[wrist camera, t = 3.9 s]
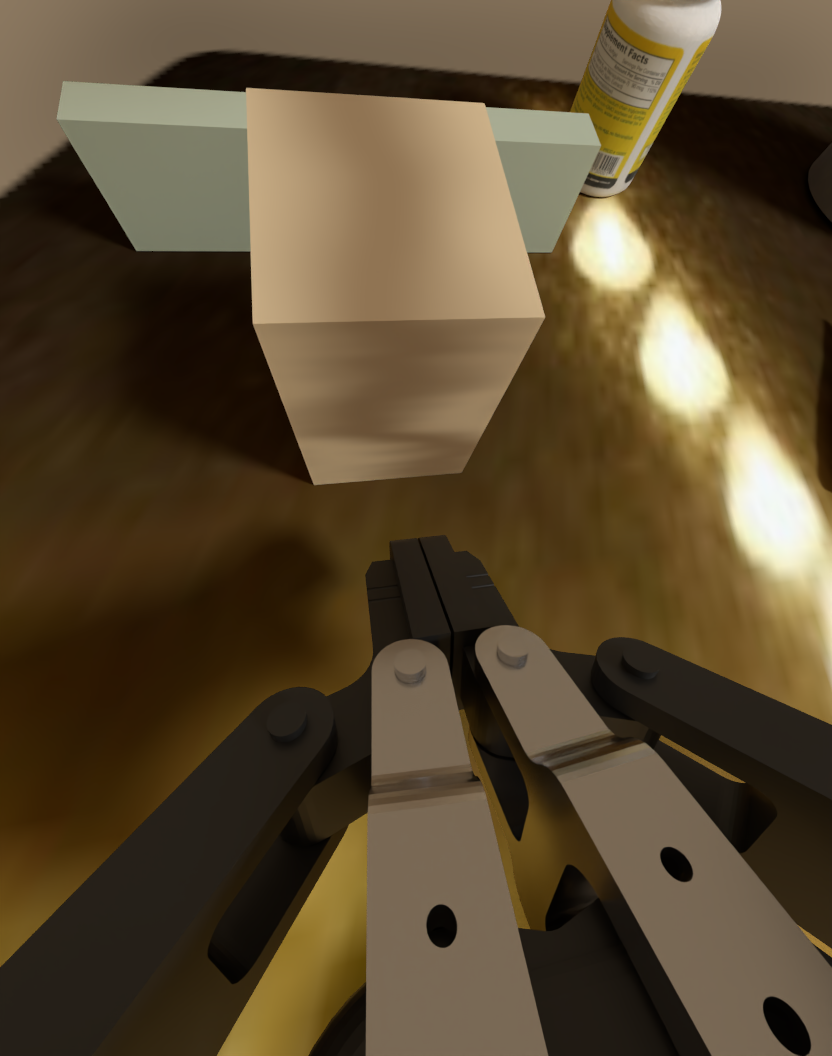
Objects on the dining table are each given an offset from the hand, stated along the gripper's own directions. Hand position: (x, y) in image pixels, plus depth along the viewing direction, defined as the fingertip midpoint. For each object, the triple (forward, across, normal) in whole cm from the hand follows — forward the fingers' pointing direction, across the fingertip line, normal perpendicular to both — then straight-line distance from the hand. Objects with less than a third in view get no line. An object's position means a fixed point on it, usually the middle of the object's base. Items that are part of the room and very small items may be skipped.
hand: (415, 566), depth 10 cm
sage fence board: (+15, 0, -10) cm, 18 cm away
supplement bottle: (+19, -14, -13) cm, 27 cm away
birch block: (+8, 0, -3) cm, 9 cm away
